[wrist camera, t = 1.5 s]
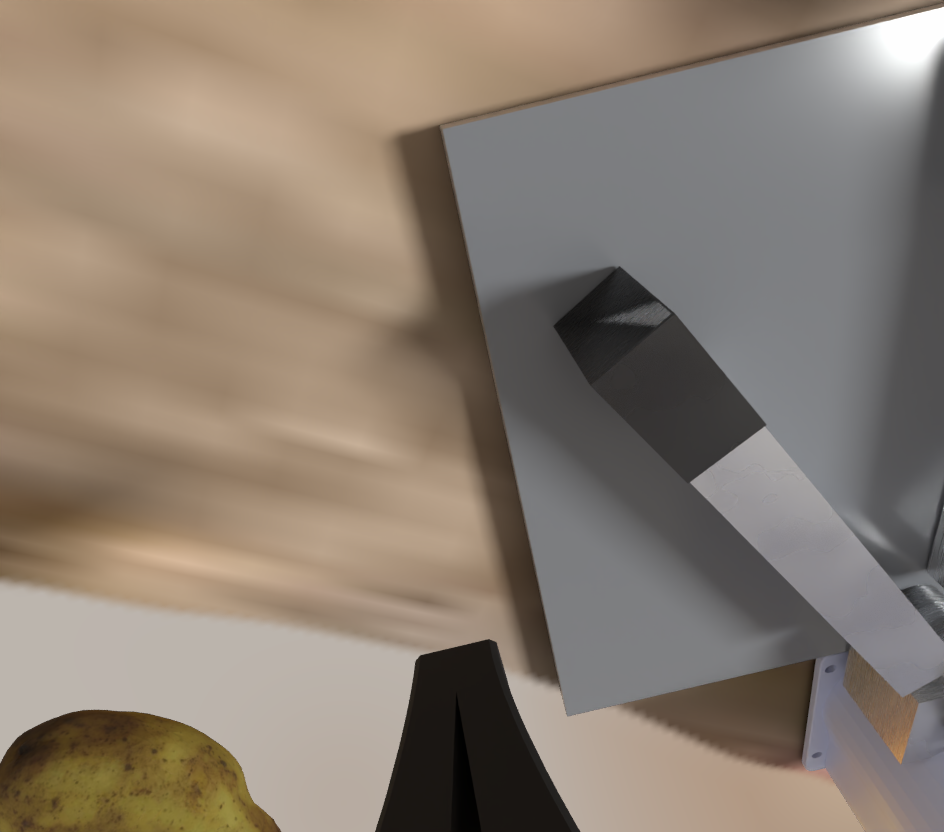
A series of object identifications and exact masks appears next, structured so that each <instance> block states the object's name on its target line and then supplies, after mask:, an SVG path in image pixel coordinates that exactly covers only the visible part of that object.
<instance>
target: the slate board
mask: <svg viewBox="0 0 944 832" xmlns="http://www.w3.org/2000/svg"><path fill="white" fill-rule="evenodd" d="M439 127H440V131H441V136H442V141H443V145H444V150H445V155H446V159H447V164H448V169H449V173H450V178H451V183H452V187H453V192H454V197H455V201H456V206H457V211H458V215H459V220H460V225H461V229H462V234H463V239H464V243H465V248H466V253H467V257H468V262H469V267H470V271H471V276H472V281H473V285H474V290H475V295H476V299H477V304H478V308H479V313H480V318H481V322H482V327H483V332H484V336H485V341H486V346H487V350H488V355H489V360H490V364H491V369H492V374H493V378H494V383H495V388H496V392H497V397H498V402H499V406H500V411H501V416H502V420H503V425H504V430H505V434H506V439H507V444H508V448H509V453H510V458H511V462H512V467H513V472H514V476H515V481H516V486H517V490H518V495H519V500H520V504H521V509H522V514H523V518H524V523H525V528H526V532H527V537H528V542H529V546H530V551H531V556H532V560H533V565H534V570H535V574H536V579H537V584H538V588H539V593H540V598H541V602H542V607H543V612H544V616H545V621H546V626H547V630H548V635H549V640H550V644H551V649H552V654H553V658H554V663H555V668H556V672H557V677H558V682H559V686H560V691H561V695H562V699H563V702H564V706H565V710H566V714H567V716H572V715H576V714H580V713H585V712H589V711H593V710H597V709H602V708H606V707H610V706H615V705H619V704H623V703H627V702H632V701H636V700H640V699H644V698H649V697H653V696H657V695H662V694H666V693H670V692H674V691H679V690H683V689H687V688H692V687H696V686H700V685H704V684H709V683H713V682H717V681H722V680H726V679H730V678H734V677H739V676H743V675H747V674H752V673H756V672H760V671H764V670H769V669H773V668H777V667H782V666H786V665H790V664H794V663H799V662H803V661H807V660H811V659H816V658H820V657H824V656H829V655H833V654H837V653H841V652H846V651H849V647H850V644H849V643H848V642H847V641H846V640H845V639H844V638H843V637H842V636H841V635H840V634H839V633H838V632H837V631H836V630H835V629H834V628H833V627H832V626H831V625H830V624H829V623H828V622H827V621H826V620H825V619H824V618H823V617H822V616H821V615H820V614H819V613H818V612H817V611H816V609H815V608H814V607H813V606H812V605H811V604H810V603H809V602H808V601H807V600H806V599H805V598H804V597H803V596H802V595H801V594H800V593H799V592H798V591H797V590H796V589H795V588H794V587H793V586H792V585H791V584H790V583H789V582H788V581H787V580H786V579H785V578H784V577H783V576H782V575H781V574H780V573H779V572H778V571H777V570H776V569H775V568H774V567H773V566H772V565H771V564H770V563H769V562H768V561H767V560H766V559H765V558H764V557H763V556H762V555H761V554H760V553H759V552H758V551H757V550H756V549H755V548H754V547H753V546H752V545H751V544H750V543H749V542H748V541H747V540H746V539H745V538H744V537H743V536H742V535H741V534H740V533H739V532H738V531H737V530H736V529H735V528H734V527H733V525H732V524H731V523H730V522H729V521H728V520H727V519H726V518H725V517H724V516H723V515H722V514H721V513H720V512H719V511H718V510H717V509H716V508H715V507H714V506H713V505H712V504H711V503H710V502H709V501H708V500H707V499H706V498H705V497H704V496H703V495H702V494H701V493H700V492H699V491H698V490H697V489H696V488H695V487H694V486H693V485H692V484H691V483H687V482H686V481H685V480H684V479H683V478H682V477H681V476H680V475H679V474H678V473H677V472H676V471H675V470H674V469H673V468H672V467H671V466H670V465H669V464H668V463H667V462H666V461H665V460H664V459H663V458H662V457H661V456H660V455H659V454H658V453H657V452H656V451H655V450H654V449H653V448H652V447H651V446H650V445H649V444H648V443H647V442H646V441H645V440H644V439H643V438H642V437H641V436H640V435H639V434H638V433H637V432H636V431H635V430H634V429H633V428H632V427H631V426H630V425H629V424H628V423H627V422H626V421H625V420H624V419H623V418H622V417H621V416H620V415H619V414H618V413H617V412H616V411H615V410H614V409H613V408H612V407H611V406H610V405H609V404H608V403H607V402H606V401H605V400H604V399H603V398H602V397H601V396H600V395H599V394H598V393H597V392H596V391H595V390H594V389H593V388H592V387H591V386H590V384H589V383H588V381H587V379H586V378H585V376H584V375H583V373H582V371H581V370H580V368H579V367H578V365H577V363H576V362H575V360H574V359H573V357H572V355H571V354H570V352H569V351H568V349H567V347H566V346H565V344H564V343H563V341H562V339H561V338H560V336H559V335H558V333H557V331H556V330H555V328H554V327H553V326H554V325H555V324H556V323H557V322H558V321H559V320H560V319H561V318H563V317H564V316H565V315H566V314H567V313H568V312H569V311H570V310H571V309H572V308H574V307H575V306H576V305H577V304H578V303H579V302H580V301H581V300H582V299H584V298H585V297H586V296H587V295H588V294H589V293H590V292H591V291H592V290H593V289H595V288H596V287H597V286H598V285H599V284H600V283H601V282H602V281H603V280H605V279H606V278H607V277H608V276H609V275H610V274H611V273H612V272H613V271H614V270H616V269H617V268H618V267H619V266H620V267H621V268H623V269H624V270H625V271H626V272H627V273H628V274H630V275H631V276H632V277H633V278H634V279H635V280H637V281H638V282H639V283H640V284H641V285H642V286H644V287H645V288H646V289H647V290H648V291H649V292H651V293H652V294H653V295H654V296H655V297H656V298H658V299H659V300H660V301H661V302H662V303H663V304H665V305H666V306H667V307H668V308H669V309H670V310H672V311H673V312H674V313H675V314H676V315H677V316H678V318H679V319H680V320H681V321H682V322H683V324H684V325H685V326H686V327H687V329H688V330H689V331H690V332H691V333H692V335H693V336H694V337H695V338H696V339H697V341H698V342H699V343H700V344H701V345H702V347H703V348H704V349H705V350H706V352H707V353H708V354H709V355H710V356H711V358H712V359H713V360H714V361H715V362H716V364H717V365H718V366H719V367H720V369H721V370H722V371H723V372H724V373H725V375H726V376H727V377H728V378H729V379H730V381H731V382H732V383H733V384H734V386H735V387H736V388H737V389H738V390H739V392H740V393H741V394H742V395H743V396H744V398H745V399H746V400H747V401H748V403H749V404H750V405H751V406H752V407H753V409H754V410H755V411H756V412H757V413H758V415H759V416H760V417H761V418H762V420H763V421H764V422H765V423H766V424H767V425H766V426H765V427H766V428H767V430H768V431H769V432H770V433H771V434H772V436H773V437H774V438H775V439H776V441H777V442H778V443H779V444H780V445H781V447H782V448H783V449H784V450H785V451H786V453H787V454H788V455H789V456H790V457H791V459H792V460H793V461H794V462H795V463H796V465H797V466H798V467H799V468H800V469H801V471H802V472H803V473H804V474H805V476H806V477H807V478H808V479H809V480H810V482H811V483H812V484H813V485H814V486H815V488H816V489H817V490H818V491H819V492H820V494H821V495H822V496H823V497H824V498H825V500H826V501H827V502H828V503H829V504H830V506H831V507H832V508H833V509H834V511H835V512H836V513H837V514H838V515H839V517H840V518H841V519H842V520H843V521H844V523H845V524H846V525H847V526H848V527H849V529H850V530H851V531H852V532H853V533H854V535H855V536H856V537H857V538H858V540H859V541H860V542H861V543H862V544H863V546H864V547H865V548H866V549H867V550H868V552H869V553H870V554H871V555H872V556H873V558H874V559H875V560H876V561H877V562H878V564H879V565H880V566H881V567H882V568H883V570H884V571H885V572H886V573H887V575H888V576H889V577H890V578H891V579H892V581H893V582H894V583H895V584H896V585H897V587H898V588H899V589H900V590H901V591H903V590H905V589H907V588H909V587H912V586H916V585H922V584H927V585H932V586H935V587H936V588H937V589H938V590H939V591H941V592H942V593H943V594H944V588H943V587H942V586H941V585H940V584H939V583H938V582H937V581H935V580H934V579H933V578H932V577H931V576H930V575H929V574H928V573H927V572H926V571H927V567H928V563H929V559H930V555H931V551H932V547H933V544H934V540H935V536H936V532H937V528H938V524H939V520H940V516H941V512H942V508H943V505H944V3H940V4H936V5H932V6H928V7H924V8H920V9H915V10H911V11H907V12H903V13H899V14H895V15H891V16H887V17H883V18H878V19H874V20H870V21H866V22H862V23H858V24H854V25H850V26H846V27H841V28H837V29H833V30H829V31H825V32H821V33H817V34H813V35H809V36H805V37H800V38H796V39H792V40H788V41H784V42H780V43H776V44H772V45H768V46H763V47H759V48H755V49H751V50H747V51H743V52H739V53H735V54H731V55H726V56H722V57H718V58H714V59H710V60H706V61H702V62H698V63H694V64H689V65H685V66H681V67H677V68H673V69H669V70H665V71H661V72H657V73H652V74H648V75H644V76H640V77H636V78H632V79H628V80H624V81H620V82H615V83H611V84H607V85H603V86H599V87H595V88H591V89H587V90H583V91H578V92H574V93H570V94H566V95H562V96H558V97H554V98H550V99H546V100H542V101H537V102H533V103H529V104H525V105H521V106H517V107H513V108H509V109H505V110H500V111H496V112H492V113H488V114H484V115H480V116H476V117H472V118H468V119H463V120H459V121H455V122H451V123H447V124H443V125H439Z"/></svg>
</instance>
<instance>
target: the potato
mask: <svg viewBox="0 0 944 832" xmlns="http://www.w3.org/2000/svg"><path fill="white" fill-rule="evenodd" d="M0 832H281V831H280V829H279V827H278V826H277V825H276V823H275V821H274V819H272V818H271V817H270V816H269V815H268V814H267V813H266V812H264V810H262V809H261V808H260V807H259V806H258V805H256V804H255V803H254V802H253V800H252V798H251V796H250V794H249V792H248V789H247V785H246V782H245V777H244V774H243V771H242V768H241V766H240V765H239V763H238V762H237V761H236V759H235V758H234V757H233V756H232V755H231V754H230V752H229V751H227V750H226V749H225V748H224V747H223V746H221V745H220V744H219V743H217V742H216V741H214V740H213V739H211V738H210V737H208V736H207V735H205V734H204V733H202V732H200V731H198V730H196V729H194V728H193V727H191V726H188V725H185V724H183V723H180V722H177V721H174V720H171V719H167V718H163V717H159V716H155V715H151V714H146V713H138V712H122V711H121V712H120V711H108V710H83V711H77V712H72V713H68V714H65V715H62V716H59V717H57V718H54V719H51V720H49V721H46V722H44V723H42V724H40V725H38V726H36V727H34V728H32V729H30V730H28V731H26V732H25V733H23V734H22V735H21V736H19V737H18V738H17V739H16V740H15V741H14V743H13V744H12V745H11V747H10V748H9V749H8V750H7V752H6V754H5V756H4V757H3V759H2V761H1V763H0Z"/></svg>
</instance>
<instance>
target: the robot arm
mask: <svg viewBox="0 0 944 832" xmlns="http://www.w3.org/2000/svg"><path fill="white" fill-rule="evenodd" d="M848 653H849V651H846V652H841V653H837V654H833V655H829V656H824V657H820V658H816V662H815V670H814V677H813V684H812V691H811V699H810V706H809V713H808V720H807V727H806V735H805V742H804V749H803V756H802V764H803V765H804V767H805V769H807V770H809V771H815V770H819V769H823V768H826V769H827V771H828V773H829V774H830V776H831V778H832V779H833V781H834V782H835V784H836V786H837V787H838V789H839V790H840V792H841V794H842V795H843V797H844V799H845V800H846V802H847V803H848V805H849V807H850V808H851V810H852V811H853V813H854V815H855V816H856V818H857V820H858V821H859V823H860V824H861V826H862V828H863V829H864V831H865V832H944V751H942V752H940V753H938V754H936V755H934V756H933V757H931V758H928V759H924V760H919V761H915V762H911V763H906V764H902V765H901V764H900V763H899V762H898V760H897V759H896V757H895V756H894V755H893V753H892V752H891V751H890V749H889V748H888V746H887V745H886V744H885V742H884V741H883V740H882V738H881V737H880V736H879V734H878V733H877V731H876V730H875V729H874V727H873V726H872V725H871V723H870V722H869V721H868V719H867V718H866V716H865V715H864V714H863V712H862V711H861V710H860V708H859V707H858V705H857V704H856V703H855V701H854V700H853V699H852V697H851V696H850V695H849V693H848V692H847V690H846V689H845V688H844V686H843V680H844V675H845V669H846V664H847V658H848ZM375 832H580V830H579V829H578V827H577V825H576V824H575V822H574V820H573V818H572V817H571V815H570V813H569V811H568V809H567V808H566V806H565V804H564V802H563V800H562V799H561V797H560V795H559V793H558V792H557V790H556V788H555V786H554V784H553V782H552V780H551V778H550V776H549V774H548V773H547V771H546V769H545V767H544V765H543V763H542V761H541V759H540V756H539V754H538V753H537V750H536V748H535V746H534V744H533V742H532V740H531V738H530V736H529V734H528V732H527V730H526V728H525V725H524V723H523V721H522V719H521V716H520V714H519V712H518V709H517V707H516V705H515V702H514V699H513V697H512V695H511V692H510V689H509V685H508V681H507V678H506V674H505V671H504V667H503V664H502V660H501V657H500V653H499V650H498V646H497V643H496V642H494V641H492V640H490V639H488V640H484V641H479V642H475V643H471V644H467V645H462V646H458V647H454V648H450V649H446V650H441V651H437V652H433V653H429V654H424V655H420V656H419V658H418V659H417V660H416V662H415V670H414V677H413V683H412V689H411V695H410V700H409V705H408V710H407V715H406V720H405V724H404V728H403V733H402V737H401V742H400V746H399V750H398V753H397V757H396V761H395V764H394V768H393V772H392V776H391V780H390V784H389V787H388V791H387V795H386V798H385V802H384V805H383V809H382V812H381V815H380V818H379V821H378V824H377V827H376V831H375Z"/></svg>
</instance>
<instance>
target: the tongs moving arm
mask: <svg viewBox="0 0 944 832" xmlns="http://www.w3.org/2000/svg"><path fill="white" fill-rule="evenodd" d="M553 327H554V328H555V330H556V331H557V333H558V335H559V336H560V338H561V339H562V341H563V343H564V344H565V346H566V347H567V349H568V351H569V352H570V354H571V355H572V357H573V359H574V360H575V362H576V363H577V365H578V367H579V368H580V370H581V371H582V373H583V375H584V376H585V378H586V379H587V381H588V383H589V384H590V386H591V387H592V388H593V389H594V390H595V391H596V392H597V393H598V394H599V395H600V396H601V397H602V398H603V399H604V400H605V401H606V402H607V403H608V404H609V405H610V406H611V407H612V408H613V409H614V410H615V411H616V412H617V413H618V414H619V415H620V416H621V417H622V418H623V419H624V420H625V421H626V422H627V423H628V424H629V425H630V426H631V427H632V428H633V429H634V430H635V431H636V432H637V433H638V434H639V435H640V436H641V437H642V438H643V439H644V440H645V441H646V442H647V443H648V444H649V445H650V446H651V447H652V448H653V449H654V450H655V451H656V452H657V453H658V454H659V455H660V456H661V457H662V458H663V459H664V460H665V461H666V462H667V463H668V464H669V465H670V466H671V467H672V468H673V469H674V470H675V471H676V472H677V473H678V474H679V475H680V476H681V477H682V478H683V479H684V480H685V481H686V482H687V483H691V484H692V485H693V486H694V487H695V488H696V489H697V490H698V491H699V492H700V493H701V494H702V495H703V496H704V497H705V498H706V499H707V500H708V501H709V502H710V503H711V504H712V505H713V506H714V507H715V508H716V509H717V510H718V511H719V512H720V513H721V514H722V515H723V516H724V517H725V518H726V519H727V520H728V521H729V522H730V523H731V524H732V525H733V527H734V528H735V529H736V530H737V531H738V532H739V533H740V534H741V535H742V536H743V537H744V538H745V539H746V540H747V541H748V542H749V543H750V544H751V545H752V546H753V547H754V548H755V549H756V550H757V551H758V552H759V553H760V554H761V555H762V556H763V557H764V558H765V559H766V560H767V561H768V562H769V563H770V564H771V565H772V566H773V567H774V568H775V569H776V570H777V571H778V572H779V573H780V574H781V575H782V576H783V577H784V578H785V579H786V580H787V581H788V582H789V583H790V584H791V585H792V586H793V587H794V588H795V589H796V590H797V591H798V592H799V593H800V594H801V595H802V596H803V597H804V598H805V599H806V600H807V601H808V602H809V603H810V604H811V605H812V606H813V607H814V608H815V609H816V611H817V612H818V613H819V614H820V615H821V616H822V617H823V618H824V619H825V620H826V621H827V622H828V623H829V624H830V625H831V626H832V627H833V628H834V629H835V630H836V631H837V632H838V633H839V634H840V635H841V636H842V637H843V638H844V639H845V640H846V641H847V642H848V643H849V644H850V645H851V646H852V647H853V648H854V649H855V650H856V651H857V652H858V653H859V654H860V655H861V656H862V657H863V658H864V659H865V660H866V661H867V662H868V663H869V664H870V665H871V666H872V667H873V668H874V669H875V670H876V671H877V672H878V673H879V674H880V675H881V676H882V677H883V678H884V679H885V680H886V681H887V682H888V683H889V684H890V685H891V686H892V687H893V688H894V689H895V690H896V691H897V692H898V693H899V695H900V696H901V697H902V698H903V697H904V696H906V695H908V694H910V693H912V692H913V691H915V690H917V689H919V688H921V687H922V686H924V685H926V684H928V683H930V682H931V681H933V680H935V679H937V678H938V677H940V676H942V675H944V642H943V641H942V640H941V639H940V637H939V636H938V635H937V634H936V632H935V631H934V630H933V629H932V628H931V626H930V625H929V624H928V623H927V622H926V620H925V619H924V618H923V617H922V616H921V614H920V613H919V612H918V611H917V610H916V608H915V607H914V606H913V605H912V603H911V602H910V601H909V600H908V599H907V597H906V596H905V595H904V594H903V593H902V591H901V590H900V589H899V588H898V587H897V585H896V584H895V583H894V582H893V581H892V579H891V578H890V577H889V576H888V575H887V573H886V572H885V571H884V570H883V568H882V567H881V566H880V565H879V564H878V562H877V561H876V560H875V559H874V558H873V556H872V555H871V554H870V553H869V552H868V550H867V549H866V548H865V547H864V546H863V544H862V543H861V542H860V541H859V540H858V538H857V537H856V536H855V535H854V533H853V532H852V531H851V530H850V529H849V527H848V526H847V525H846V524H845V523H844V521H843V520H842V519H841V518H840V517H839V515H838V514H837V513H836V512H835V511H834V509H833V508H832V507H831V506H830V504H829V503H828V502H827V501H826V500H825V498H824V497H823V496H822V495H821V494H820V492H819V491H818V490H817V489H816V488H815V486H814V485H813V484H812V483H811V482H810V480H809V479H808V478H807V477H806V476H805V474H804V473H803V472H802V471H801V469H800V468H799V467H798V466H797V465H796V463H795V462H794V461H793V460H792V459H791V457H790V456H789V455H788V454H787V453H786V451H785V450H784V449H783V448H782V447H781V445H780V444H779V443H778V442H777V441H776V439H775V438H774V437H773V436H772V434H771V433H770V432H769V431H768V430H767V428H766V427H765V426H766V425H767V424H766V423H765V422H764V421H763V420H762V418H761V417H760V416H759V415H758V413H757V412H756V411H755V410H754V409H753V407H752V406H751V405H750V404H749V403H748V401H747V400H746V399H745V398H744V396H743V395H742V394H741V393H740V392H739V390H738V389H737V388H736V387H735V386H734V384H733V383H732V382H731V381H730V379H729V378H728V377H727V376H726V375H725V373H724V372H723V371H722V370H721V369H720V367H719V366H718V365H717V364H716V362H715V361H714V360H713V359H712V358H711V356H710V355H709V354H708V353H707V352H706V350H705V349H704V348H703V347H702V345H701V344H700V343H699V342H698V341H697V339H696V338H695V337H694V336H693V335H692V333H691V332H690V331H689V330H688V329H687V327H686V326H685V325H684V324H683V322H682V321H681V320H680V319H679V318H678V316H677V315H676V314H675V313H674V312H673V311H672V310H670V309H669V308H668V307H667V306H666V305H665V304H663V303H662V302H661V301H660V300H659V299H658V298H656V297H655V296H654V295H653V294H652V293H651V292H649V291H648V290H647V289H646V288H645V287H644V286H642V285H641V284H640V283H639V282H638V281H637V280H635V279H634V278H633V277H632V276H631V275H630V274H628V273H627V272H626V271H625V270H624V269H623V268H621V267H620V266H619V267H618V268H617V269H616V270H614V271H613V272H612V273H611V274H610V275H609V276H608V277H607V278H606V279H605V280H603V281H602V282H601V283H600V284H599V285H598V286H597V287H596V288H595V289H593V290H592V291H591V292H590V293H589V294H588V295H587V296H586V297H585V298H584V299H582V300H581V301H580V302H579V303H578V304H577V305H576V306H575V307H574V308H572V309H571V310H570V311H569V312H568V313H567V314H566V315H565V316H564V317H563V318H561V319H560V320H559V321H558V322H557V323H556V324H555V325H554V326H553Z"/></svg>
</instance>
